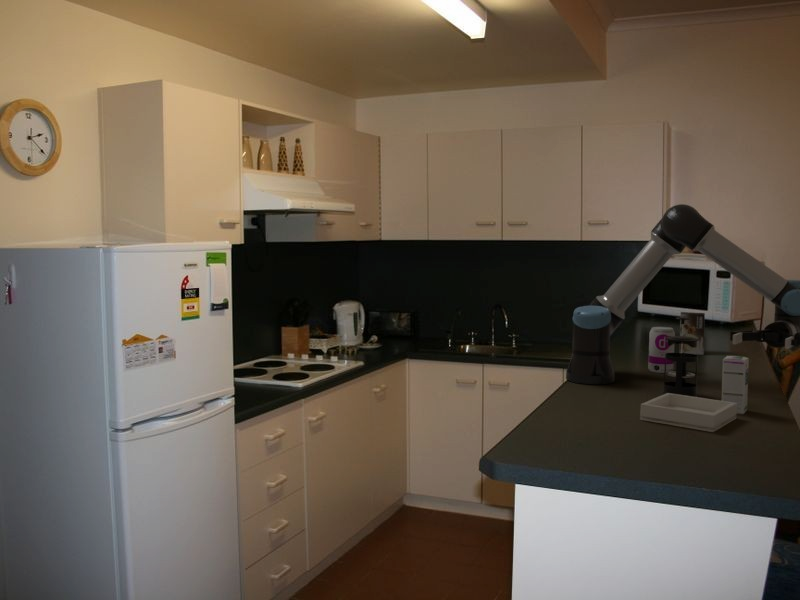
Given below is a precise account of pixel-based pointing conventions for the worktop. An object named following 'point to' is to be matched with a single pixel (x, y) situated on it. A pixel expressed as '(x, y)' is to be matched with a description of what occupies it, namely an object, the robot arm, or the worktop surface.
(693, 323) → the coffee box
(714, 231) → the robot arm
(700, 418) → the bin
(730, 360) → the syrup box
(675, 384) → the french press
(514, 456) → the worktop surface
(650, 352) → the supplement can
